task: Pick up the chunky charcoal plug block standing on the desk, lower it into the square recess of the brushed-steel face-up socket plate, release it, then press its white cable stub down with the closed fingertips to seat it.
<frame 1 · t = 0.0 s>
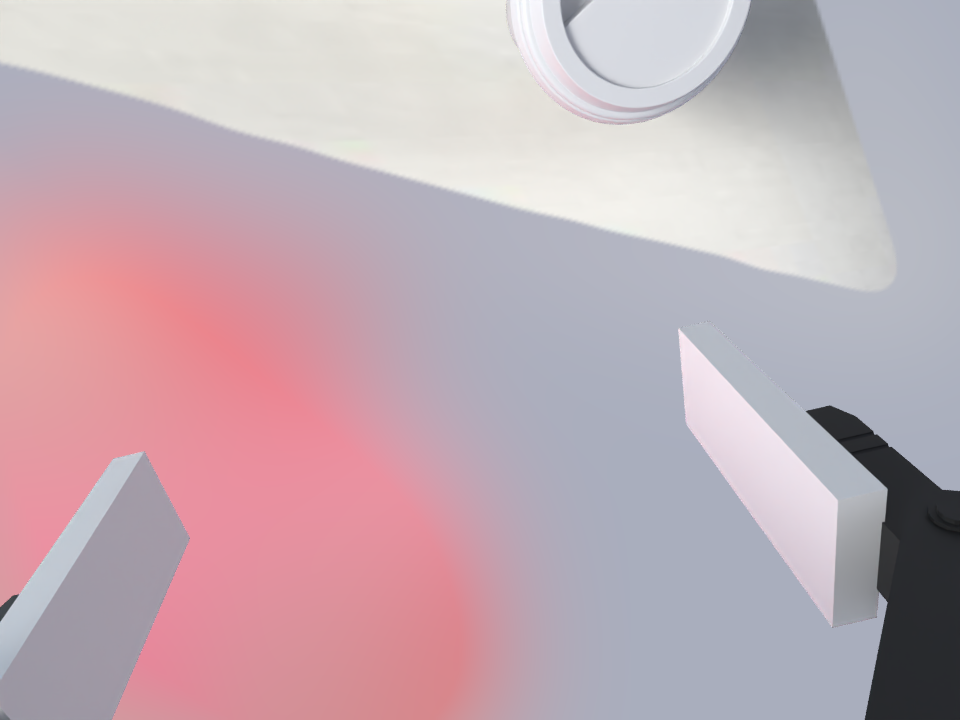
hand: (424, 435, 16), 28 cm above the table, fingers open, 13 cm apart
coffee cup: (562, 7, 38), on the table
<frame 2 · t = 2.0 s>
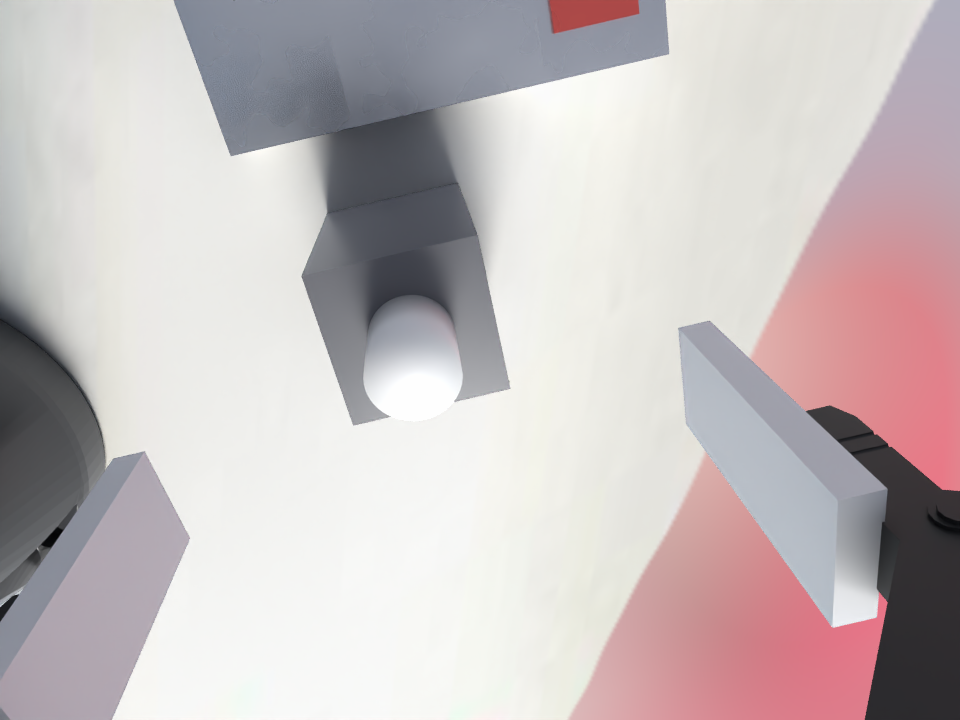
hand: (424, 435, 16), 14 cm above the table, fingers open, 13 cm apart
plug: (409, 260, 29), on the table
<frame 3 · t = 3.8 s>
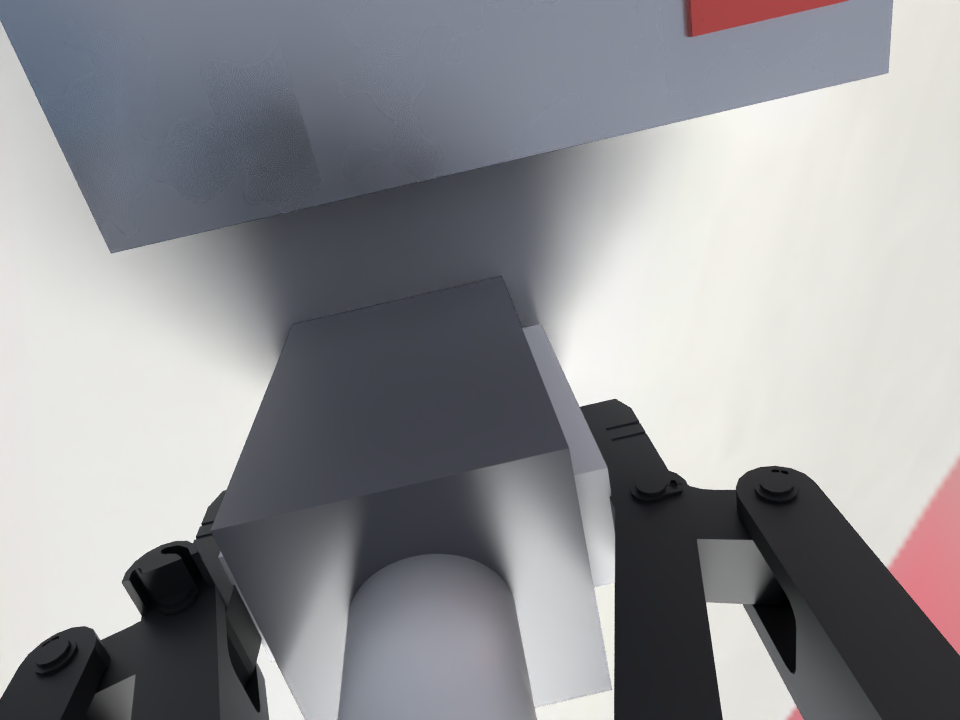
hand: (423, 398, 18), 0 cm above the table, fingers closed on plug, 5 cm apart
plug: (422, 391, 18), on the table, touching gripper
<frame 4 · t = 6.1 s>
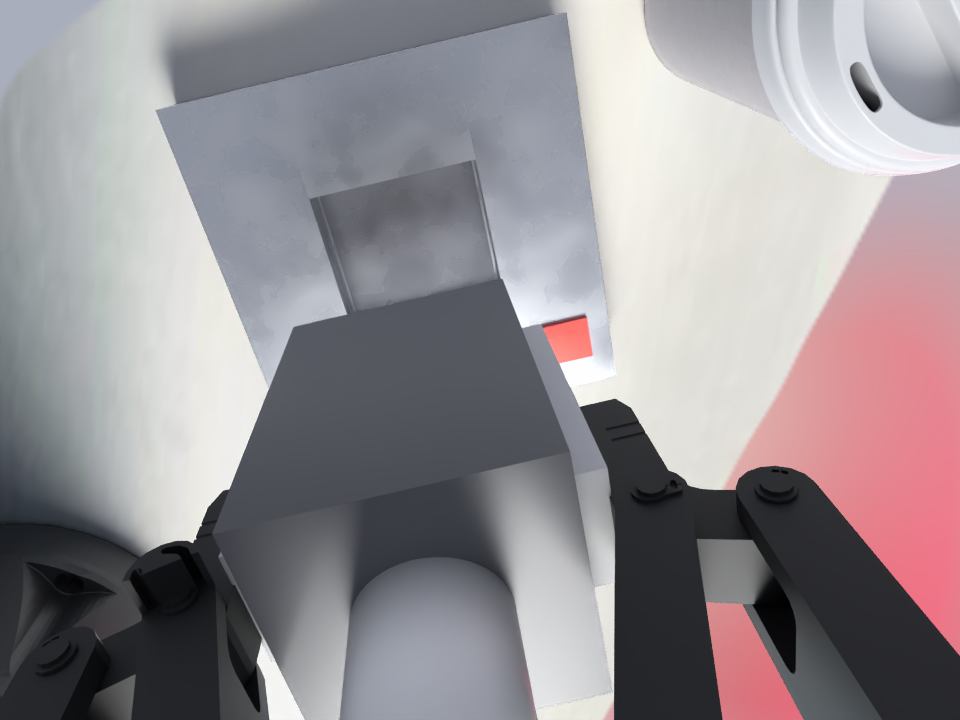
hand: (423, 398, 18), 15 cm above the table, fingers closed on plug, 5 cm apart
coffee cup: (717, 2, 28), on the table
plug: (423, 393, 18), point 14 cm above the table, touching gripper
socket plate: (413, 243, 31), on the table
when the fingers open (3 cm above the table, at t = 8.4 s): plug drops 2 cm, resting on socket plate.
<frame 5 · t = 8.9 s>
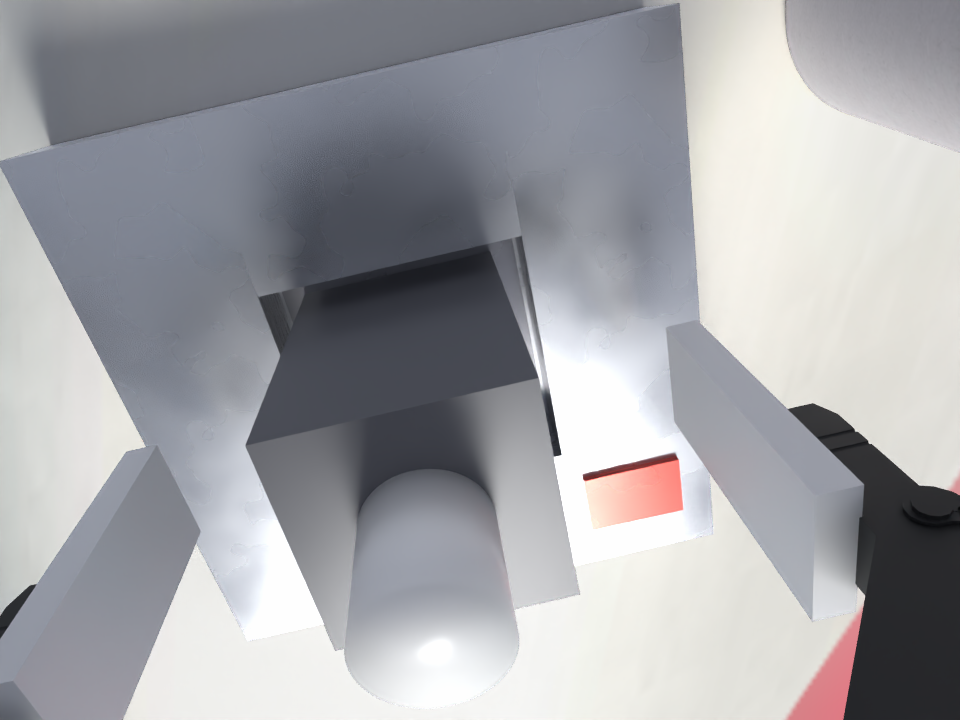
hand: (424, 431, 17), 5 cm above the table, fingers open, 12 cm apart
plug: (420, 355, 21), point 1 cm above the table, touching socket plate
socket plate: (420, 345, 21), on the table
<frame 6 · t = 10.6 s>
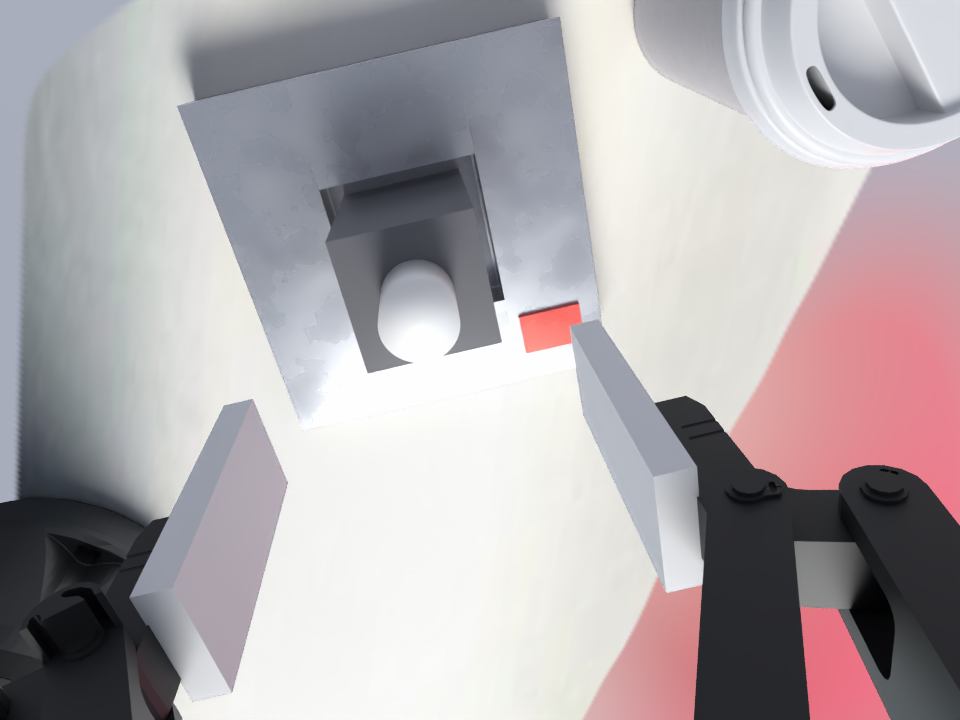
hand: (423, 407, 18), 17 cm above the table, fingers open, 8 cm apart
coffee cup: (702, 7, 30), on the table
plug: (415, 237, 33), point 1 cm above the table, touching socket plate
socket plate: (415, 233, 33), on the table
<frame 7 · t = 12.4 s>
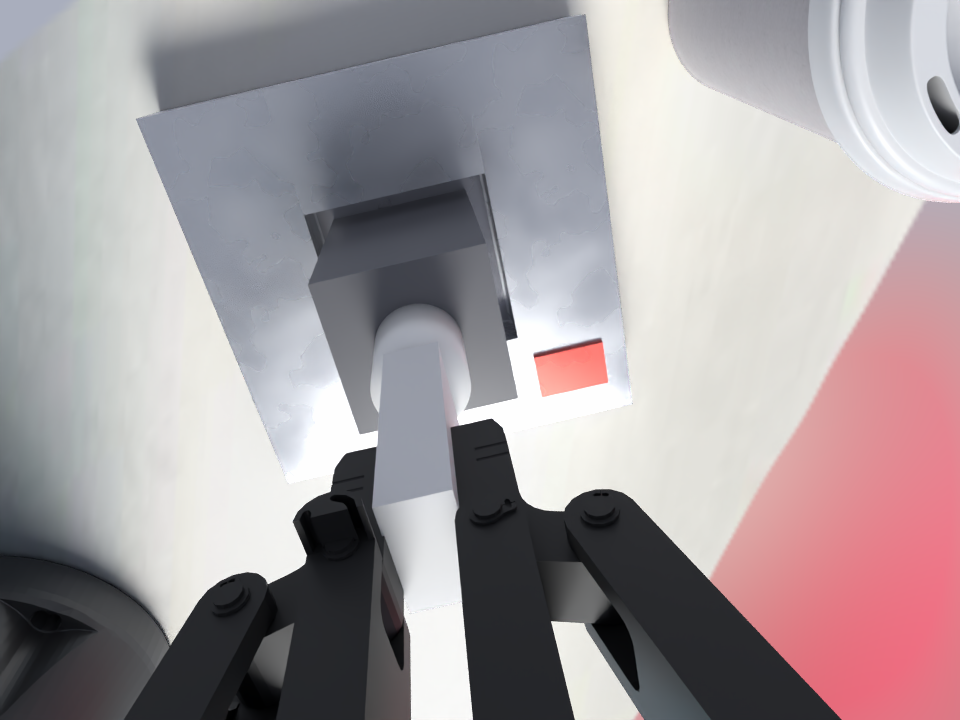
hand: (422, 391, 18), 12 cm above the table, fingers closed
coffee cup: (747, 3, 26), on the table
plug: (415, 267, 29), point 1 cm above the table, touching gripper, socket plate
socket plate: (416, 261, 29), on the table
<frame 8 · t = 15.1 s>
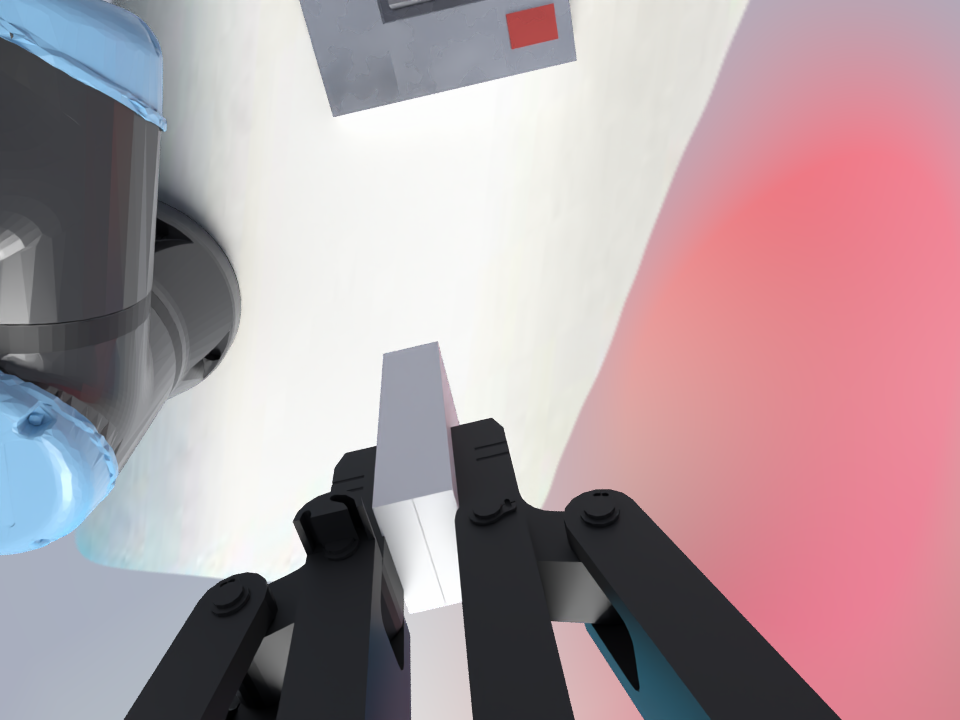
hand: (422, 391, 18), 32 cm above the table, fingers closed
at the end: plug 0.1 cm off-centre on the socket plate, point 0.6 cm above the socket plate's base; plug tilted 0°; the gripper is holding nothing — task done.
